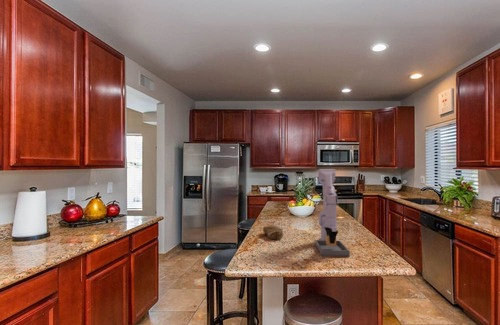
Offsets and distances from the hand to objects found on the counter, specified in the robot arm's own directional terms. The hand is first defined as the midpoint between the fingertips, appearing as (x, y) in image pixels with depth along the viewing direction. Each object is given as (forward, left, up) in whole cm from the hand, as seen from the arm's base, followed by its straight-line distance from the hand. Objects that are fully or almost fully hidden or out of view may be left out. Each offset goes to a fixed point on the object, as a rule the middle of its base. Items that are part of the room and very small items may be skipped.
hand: (331, 242), depth 157 cm
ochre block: (0, 0, -2) cm, 2 cm away
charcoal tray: (0, 0, -5) cm, 5 cm away
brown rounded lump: (-31, -31, -5) cm, 44 cm away
